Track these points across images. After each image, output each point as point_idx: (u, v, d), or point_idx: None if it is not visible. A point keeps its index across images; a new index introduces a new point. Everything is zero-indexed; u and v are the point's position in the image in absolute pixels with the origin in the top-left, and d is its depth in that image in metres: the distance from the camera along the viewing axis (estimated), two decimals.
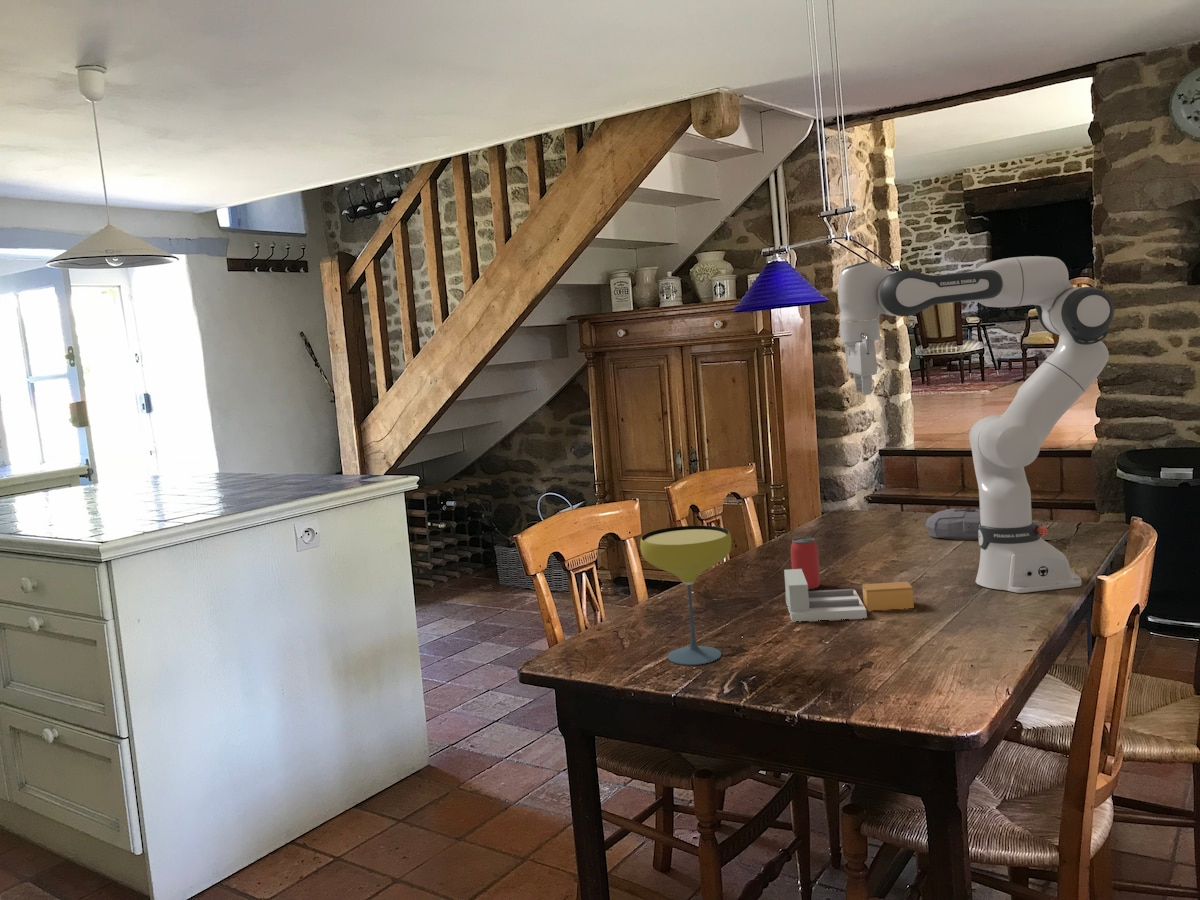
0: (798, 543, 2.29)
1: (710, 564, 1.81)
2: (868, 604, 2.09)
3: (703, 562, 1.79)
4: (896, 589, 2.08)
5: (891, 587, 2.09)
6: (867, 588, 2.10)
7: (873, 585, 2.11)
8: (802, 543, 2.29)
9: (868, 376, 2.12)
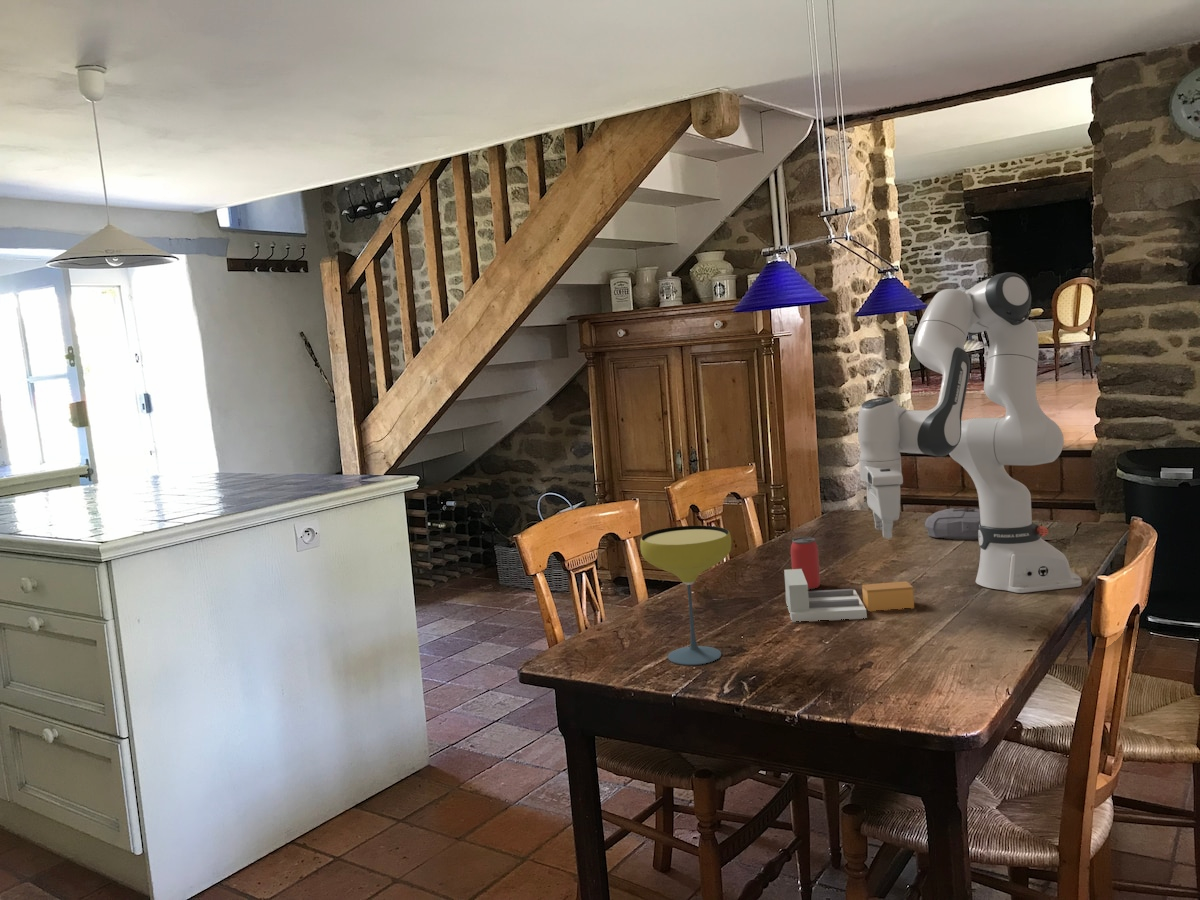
0: (798, 543, 2.29)
1: (710, 564, 1.81)
2: (869, 604, 2.08)
3: (703, 562, 1.79)
4: (897, 589, 2.08)
5: (891, 587, 2.09)
6: (868, 588, 2.09)
7: (873, 585, 2.11)
8: (802, 543, 2.29)
9: None
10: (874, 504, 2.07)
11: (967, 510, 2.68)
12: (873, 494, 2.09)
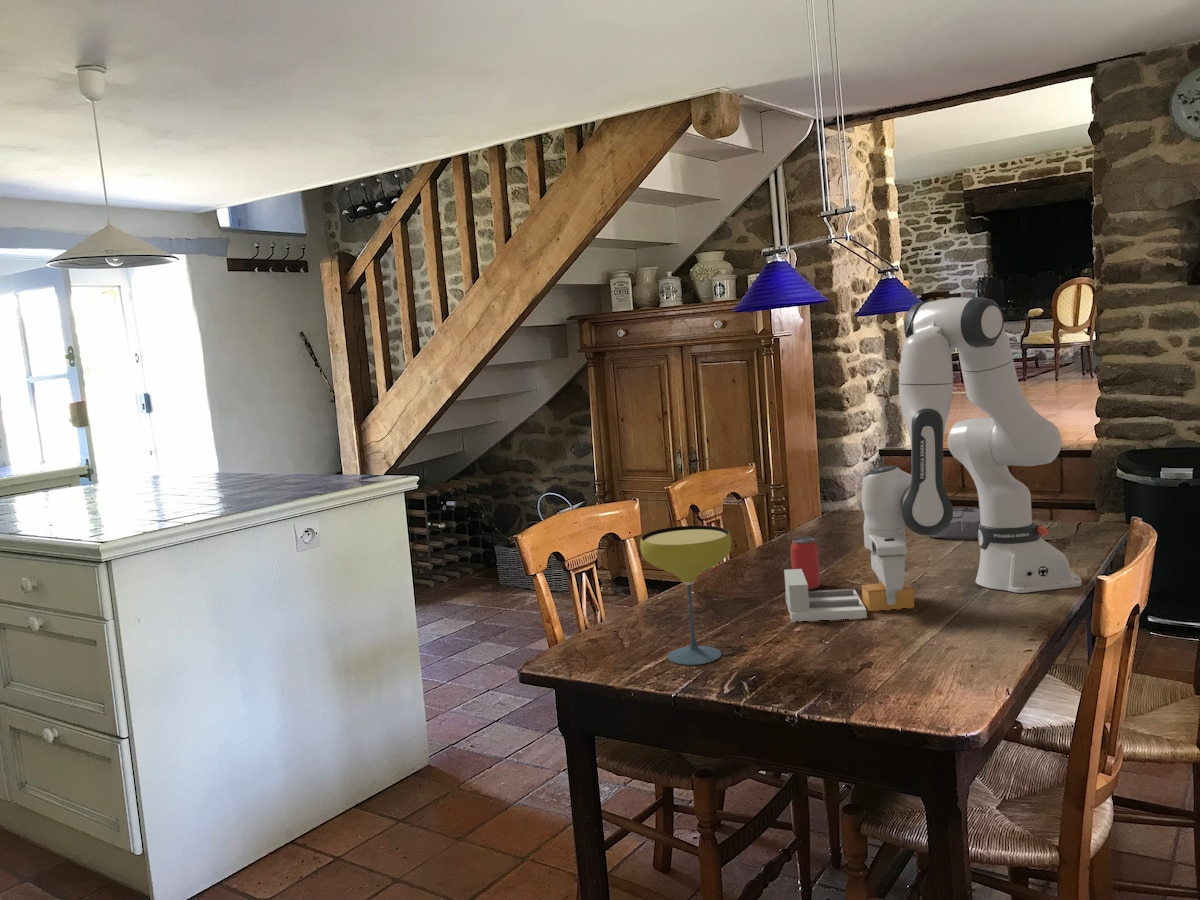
0: (798, 543, 2.29)
1: (710, 564, 1.81)
2: (870, 605, 2.08)
3: (703, 562, 1.79)
4: None
5: None
6: (868, 589, 2.09)
7: (873, 585, 2.11)
8: (802, 543, 2.29)
9: None
10: (878, 571, 2.09)
11: (966, 510, 2.68)
12: (877, 560, 2.11)
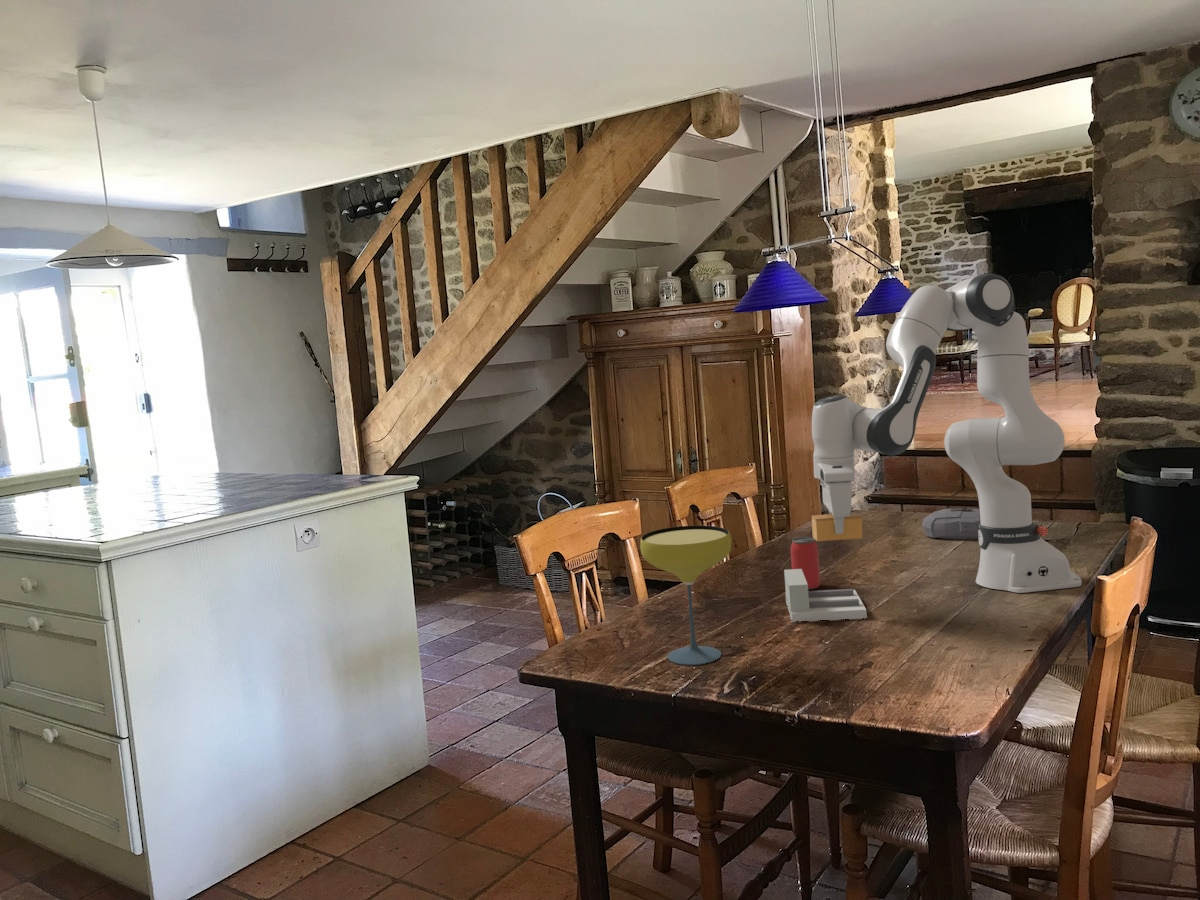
0: (798, 543, 2.29)
1: (710, 564, 1.81)
2: (818, 533, 2.08)
3: (703, 562, 1.79)
4: (845, 518, 2.07)
5: None
6: (816, 517, 2.09)
7: (822, 515, 2.11)
8: (802, 543, 2.29)
9: None
10: (827, 501, 2.09)
11: (964, 510, 2.69)
12: (827, 491, 2.11)
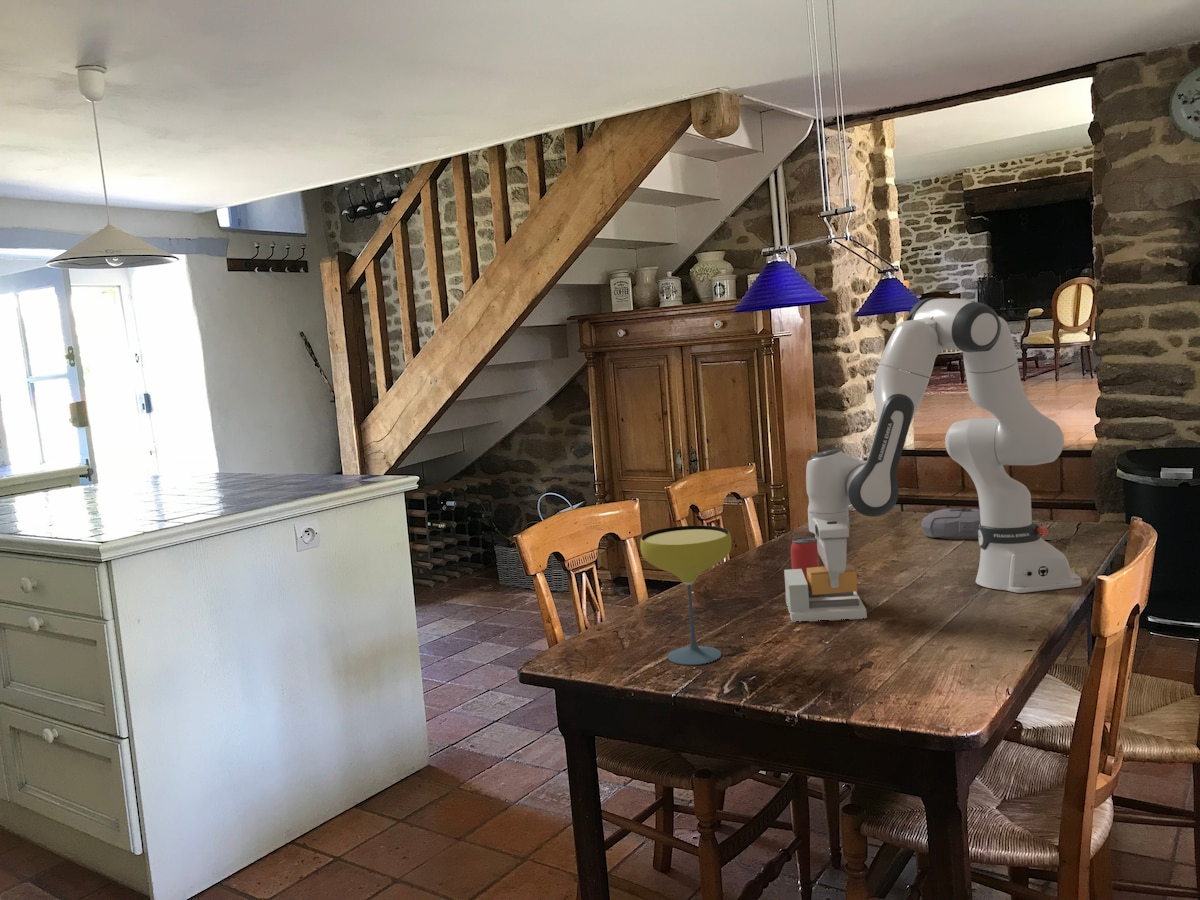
0: (798, 543, 2.29)
1: (710, 564, 1.81)
2: (813, 587, 2.09)
3: (703, 562, 1.79)
4: None
5: None
6: (811, 571, 2.10)
7: (817, 568, 2.12)
8: (802, 543, 2.29)
9: None
10: (822, 555, 2.10)
11: (964, 510, 2.69)
12: (822, 544, 2.12)
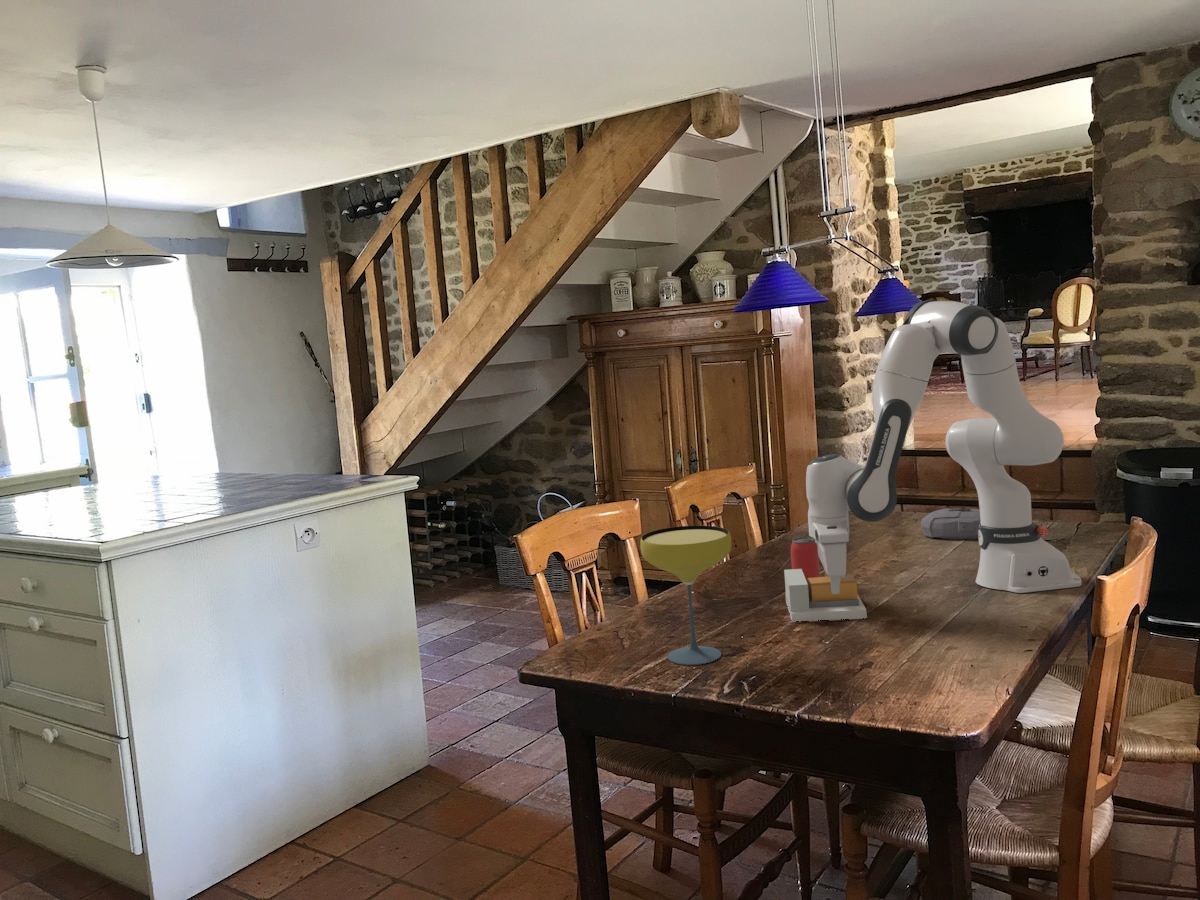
0: (798, 543, 2.29)
1: (710, 564, 1.81)
2: (813, 597, 2.10)
3: (703, 562, 1.79)
4: (840, 582, 2.09)
5: None
6: (812, 581, 2.11)
7: (818, 578, 2.13)
8: (802, 543, 2.29)
9: None
10: (823, 559, 2.10)
11: (963, 510, 2.69)
12: None
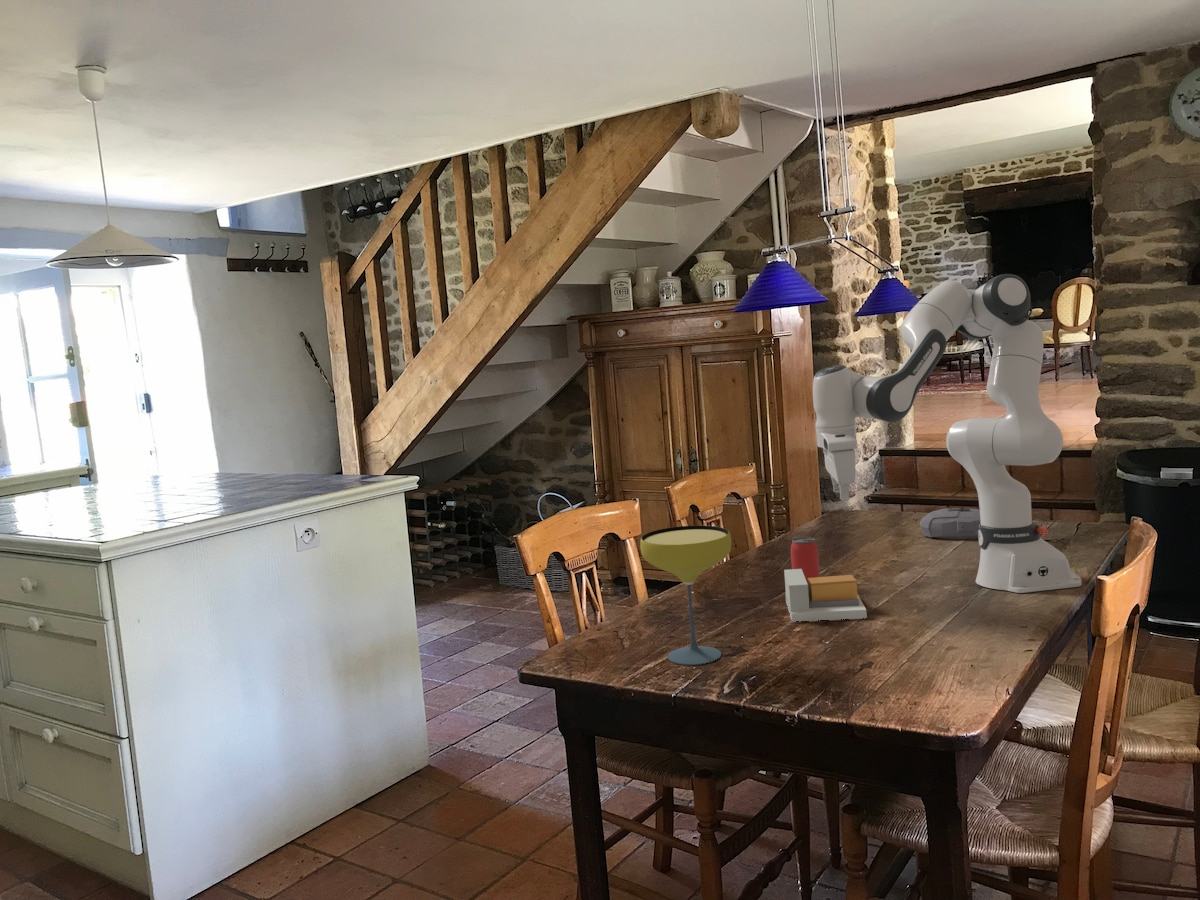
0: (798, 543, 2.29)
1: (710, 564, 1.81)
2: (813, 597, 2.10)
3: (703, 562, 1.79)
4: (840, 582, 2.09)
5: (835, 580, 2.10)
6: (812, 581, 2.11)
7: (818, 578, 2.13)
8: (802, 543, 2.29)
9: None
10: (831, 468, 2.15)
11: (962, 510, 2.69)
12: (830, 459, 2.17)
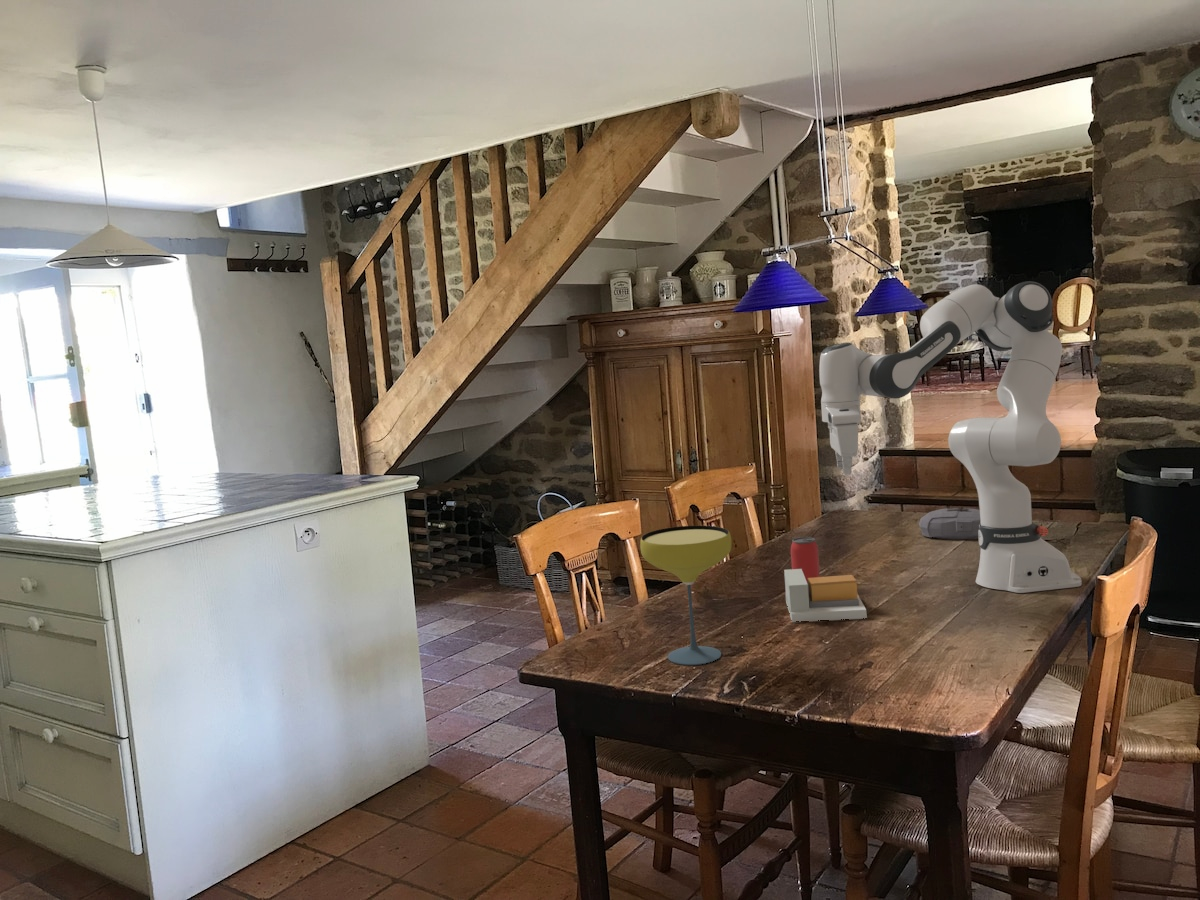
0: (798, 543, 2.29)
1: (710, 564, 1.81)
2: (813, 597, 2.10)
3: (703, 562, 1.79)
4: (840, 582, 2.09)
5: (835, 580, 2.10)
6: (812, 581, 2.11)
7: (818, 578, 2.13)
8: (802, 543, 2.29)
9: None
10: (835, 443, 2.20)
11: (961, 510, 2.69)
12: (834, 434, 2.23)
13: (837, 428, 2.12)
